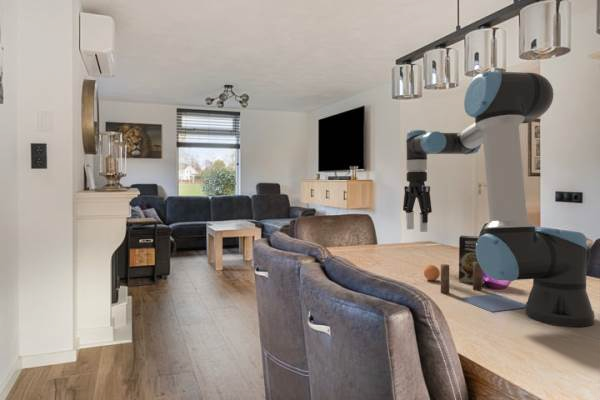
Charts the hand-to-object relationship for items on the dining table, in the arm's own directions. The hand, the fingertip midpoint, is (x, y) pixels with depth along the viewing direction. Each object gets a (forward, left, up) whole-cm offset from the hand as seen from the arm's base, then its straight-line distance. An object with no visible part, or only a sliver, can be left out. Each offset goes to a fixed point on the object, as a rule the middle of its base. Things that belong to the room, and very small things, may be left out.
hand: (416, 230), depth 156 cm
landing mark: (-40, 0, -17) cm, 43 cm away
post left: (-26, +6, -17) cm, 31 cm away
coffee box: (-16, -13, -18) cm, 27 cm away
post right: (-26, -6, -17) cm, 31 cm away
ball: (-10, 0, -15) cm, 17 cm away
